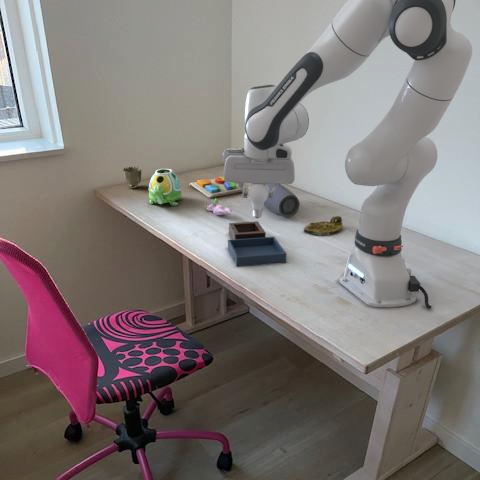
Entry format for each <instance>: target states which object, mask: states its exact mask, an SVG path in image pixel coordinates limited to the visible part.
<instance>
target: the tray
mask: <svg viewBox="0 0 480 480" xmlns="http://www.w3.org/2000/svg"><path fill="white" fill-rule="evenodd" d="M227 250H228V252H229V254H230V256H231V258H232V260H233V262H234V265H235V266H236V267H248V266H260V265H274V264H275V265H276V264H286V263H287V252H286V251H285V249H284V248H283V246H282V245H281V244H280V242H279V241H278V239H277V238H276V237H275V236H265V237H262V238H248V239H234V240H232V239H227Z"/></svg>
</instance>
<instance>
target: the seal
mask: <svg viewBox="0 0 480 480" xmlns="http://www.w3.org/2000/svg"><path fill="white" fill-rule="evenodd" d="M343 225H344V224H343V219H342V217H341V215H337V216H336V215H335V216H332V217H331V219H330V221H325V220H324V221H317V222H310V223H309V224H307V225H306V226H305V227H304V228H303V232H304V233H308V234H311V235H312V236H313V235H314V236H330V235H334V234H337V233H340V232H342V230H343V227H344V226H343Z"/></svg>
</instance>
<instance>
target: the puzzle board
mask: <svg viewBox="0 0 480 480" xmlns="http://www.w3.org/2000/svg"><path fill="white" fill-rule="evenodd" d="M188 185H189V186H190V187H192V188H194V189H196V190H197V191H198V192H200V193H202V195H204V196H205V197H207V198H208V199H212V198H217V197H222V196H228V195H234V194H239V193H242V191H241V189H240V188H239V184H238V183H231V182H226V181H225V180H224V176H216V177H215V178H212V179H207V178H204V179H203V178H202V179H197V180H196V181H194V182H189V184H188ZM243 188H244V190H247V188H245V187H243Z"/></svg>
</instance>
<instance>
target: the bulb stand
mask: <svg viewBox="0 0 480 480" xmlns="http://www.w3.org/2000/svg"><path fill="white" fill-rule="evenodd" d="M228 235H229V237H230V240H234V239H248V238H262V237H266V231H265V229H264V228H263V226H262V225H261V224H260V222H259V221H257V220H256V221H241V222H240V221H239V222H229V223H228Z"/></svg>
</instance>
